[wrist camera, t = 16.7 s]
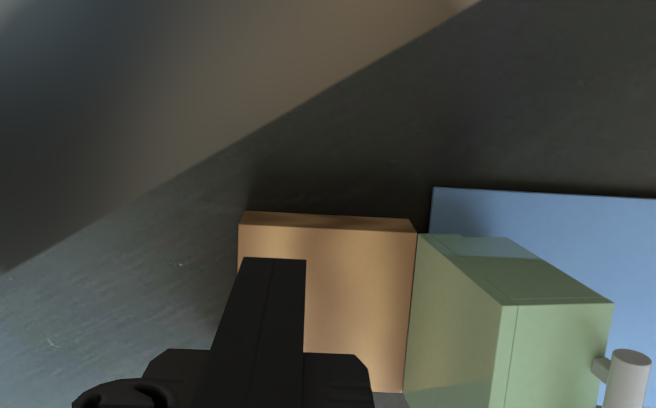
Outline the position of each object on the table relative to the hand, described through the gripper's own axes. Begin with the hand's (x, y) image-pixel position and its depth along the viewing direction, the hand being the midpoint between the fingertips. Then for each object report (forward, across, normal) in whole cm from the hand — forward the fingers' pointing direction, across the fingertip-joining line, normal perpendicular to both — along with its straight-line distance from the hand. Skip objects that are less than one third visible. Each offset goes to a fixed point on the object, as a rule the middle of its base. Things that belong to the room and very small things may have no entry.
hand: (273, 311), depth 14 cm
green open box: (+16, +9, -10) cm, 21 cm away
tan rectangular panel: (+26, +2, -10) cm, 28 cm away
